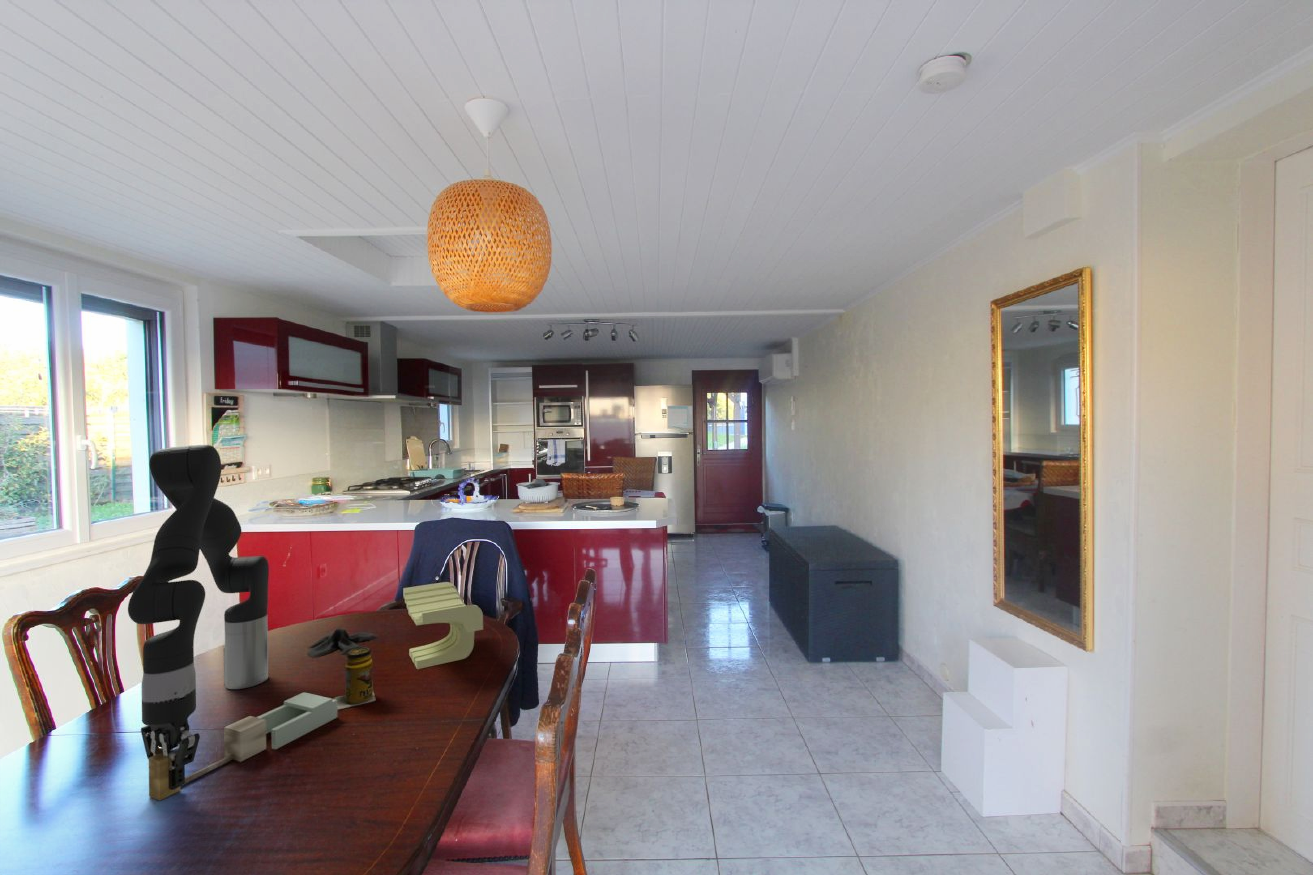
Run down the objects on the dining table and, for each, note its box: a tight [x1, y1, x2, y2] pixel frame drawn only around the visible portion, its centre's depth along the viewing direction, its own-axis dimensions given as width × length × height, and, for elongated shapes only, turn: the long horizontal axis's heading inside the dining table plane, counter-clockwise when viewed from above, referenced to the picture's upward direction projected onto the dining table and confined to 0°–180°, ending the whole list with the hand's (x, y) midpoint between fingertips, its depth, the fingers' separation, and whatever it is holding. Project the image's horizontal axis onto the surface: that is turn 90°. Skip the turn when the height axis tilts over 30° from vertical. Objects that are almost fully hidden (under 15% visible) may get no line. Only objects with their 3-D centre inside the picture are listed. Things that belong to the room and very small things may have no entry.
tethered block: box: [148, 715, 267, 801], centre depth 109 cm, size 5×18×7 cm, turn 158°
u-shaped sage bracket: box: [256, 691, 338, 750], centre depth 124 cm, size 9×14×5 cm, turn 158°
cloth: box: [307, 627, 379, 659], centre depth 174 cm, size 22×19×6 cm
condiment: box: [333, 646, 377, 711], centre depth 138 cm, size 7×8×12 cm
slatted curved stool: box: [403, 581, 484, 670], centre depth 165 cm, size 30×16×18 cm, turn 33°
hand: (170, 784), depth 103 cm, fingers closed on tethered block, 3 cm apart
